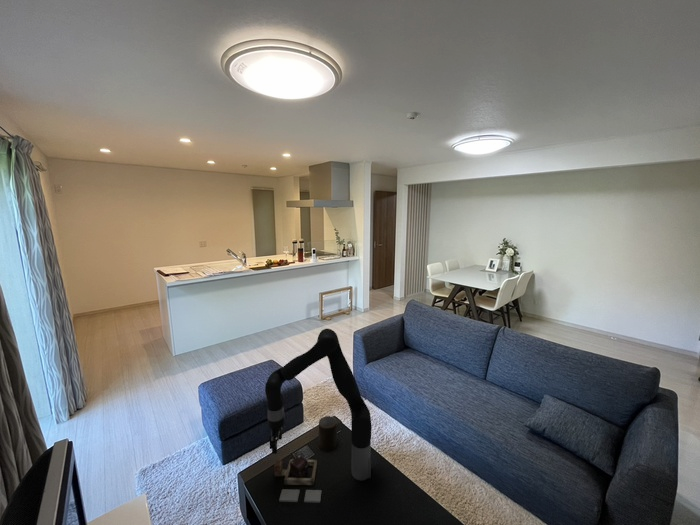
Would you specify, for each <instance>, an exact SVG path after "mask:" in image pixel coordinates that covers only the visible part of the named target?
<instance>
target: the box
mask: <svg viewBox="0 0 700 525" xmlns="http://www.w3.org/2000/svg"><path fill="white" fill-rule="evenodd" d="M292 459H293V460H292V461H291V462H290V477H291V478H306V476H307V475H308V473H309V472H308V469H309V468H308V467H309V466H307V460H308V459H306V458H305V457H303V456H302V455H300V454H298V455H297V456H296V457H294V458H292Z"/></svg>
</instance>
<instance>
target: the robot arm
mask: <svg viewBox="0 0 700 525" xmlns="http://www.w3.org/2000/svg"><path fill="white" fill-rule="evenodd" d="M326 357H327V359H328V364H329V367H330V373H331V376H332V379H333V382H334V385H335V387H336V389H337V391H338V393H339V394H340V395H341V396H342V397H343V398H344V399H345V400H346V402H347V405H348V407H349V411H350V415H351V416H350V418H351V422H350V423H351V427H350V428H351V468H350V469H351V475H352V477H353V478H354V479H355V480H357V481H361V482H362V481H365V480H367V479H371V477H372V476H371V475H372V474H371V472H372V471H371V469H372V468H371V466H372V459H371V458H372V457H371V447H372V446H371V445H372V444H371V443H372V442H371V441H372V417H371V416H372V415H371V412H370V409H369V407H368V405H367V404H366V402H365V401H364V399H363V397H362V395H361V392H360V389H359V386H358V384H357V380H356V378H355V376H354V373H353V371H352V369H351V366H350V365H349V364H348V363H349V362H348V361H347V360H346V359H347V358H346V357H345V355H344V353H343V350H342V347H341V344H340V341H339V336H338V334H337V333H336V332H335V330H333V329H331V328H324V329H322V330H320V332H319V333H318V337H317V341H316V342H315V343H314V345H313V346H312V347H311V348H310V349H308V350H306V352H305V353H302V354H300V355H298V356H295V357H294V358H292V359H291V360H290V361H289V362H288V363H285V364H284V365H283V366H282V367H280V368H277V369H276V370H274V371H273V372H272V373H270V375H269V376H268V378H267V379H266V380H267V381H266V383H265V386H264V392H265V396H266V399H267V426H268V428H269V429H270V431H271V432H270V436H269V438H268V439H269V449H270V450H271V453H272V455H273V454H275V455H277V453H278V441H279V440H282V438H283V429H284V425H285V408H284V395H283V394H282V393H281V391H282V388H283V384H284V383H285V382H286V381H288V382H289V381H291V380H293V379H294V378H296V377H298V375H300V374H301V373H302V372H303V371H304V370H306V369H308V368H309V367H310V366H312V365H314V364H315V363H317V362H319V361H321V360H322V359H324V358H326Z"/></svg>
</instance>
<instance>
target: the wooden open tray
mask: <svg viewBox="0 0 700 525" xmlns="http://www.w3.org/2000/svg"><path fill="white" fill-rule="evenodd" d="M293 459H294V458H292V459H291V458H290V459H289V463H288V465H287V469H285V468H283V460H280V459H279V460H275V462H274V465H273V468H274V469H273V470H274V476H275V477H284V480H283V481H284V483H283V484H284V485H287V486H292V485H293V486H315V481H316V480H315V479H316V473H317V468H318V460H317V459H306V460H307V467H312V472H311V473H312V474H311V477H304V478H293V477H290V476H291V473H290V462H291V461H292V460H293Z"/></svg>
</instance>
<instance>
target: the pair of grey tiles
mask: <svg viewBox="0 0 700 525" xmlns="http://www.w3.org/2000/svg"><path fill="white" fill-rule="evenodd" d="M300 490H301V489H289V488H288V489H286V488H285V489H284V488H283V489H281V493H280V496H279V500H278V501H279V502H281V503H282V502H284V503H288V502H289V503H298V502H299V495H300V492H301V491H300ZM321 498H322V490H321V489H315V490H314V489H305V495H304V500H303V502H304V503H311V504H313V503H318V504H319V503H321V500H322V499H321Z"/></svg>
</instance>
